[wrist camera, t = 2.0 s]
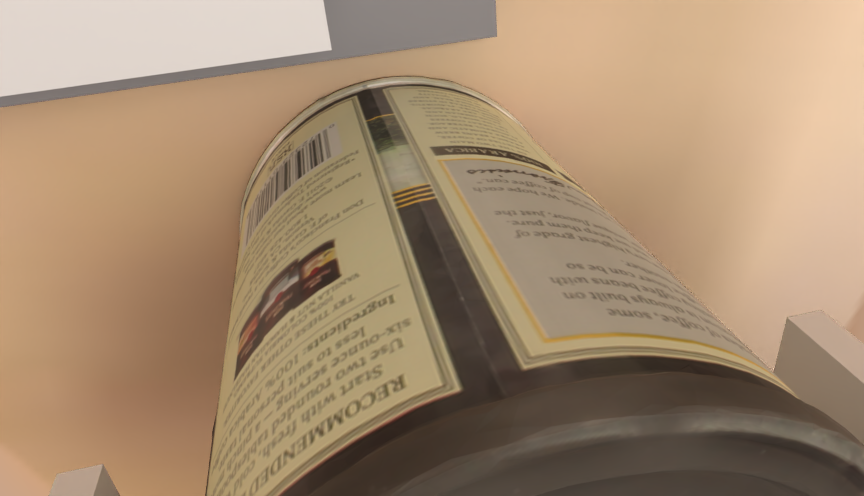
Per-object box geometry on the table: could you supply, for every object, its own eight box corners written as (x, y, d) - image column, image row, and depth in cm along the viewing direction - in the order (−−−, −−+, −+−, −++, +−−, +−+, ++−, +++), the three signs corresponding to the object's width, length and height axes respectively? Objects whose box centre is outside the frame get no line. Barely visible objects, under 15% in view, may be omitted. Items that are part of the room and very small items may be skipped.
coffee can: (488, 377, 24) (683, 854, 12) (209, 331, 21) (100, 925, 9) (608, 127, 20) (1083, 473, 8) (286, 21, 17) (277, 341, 5)
